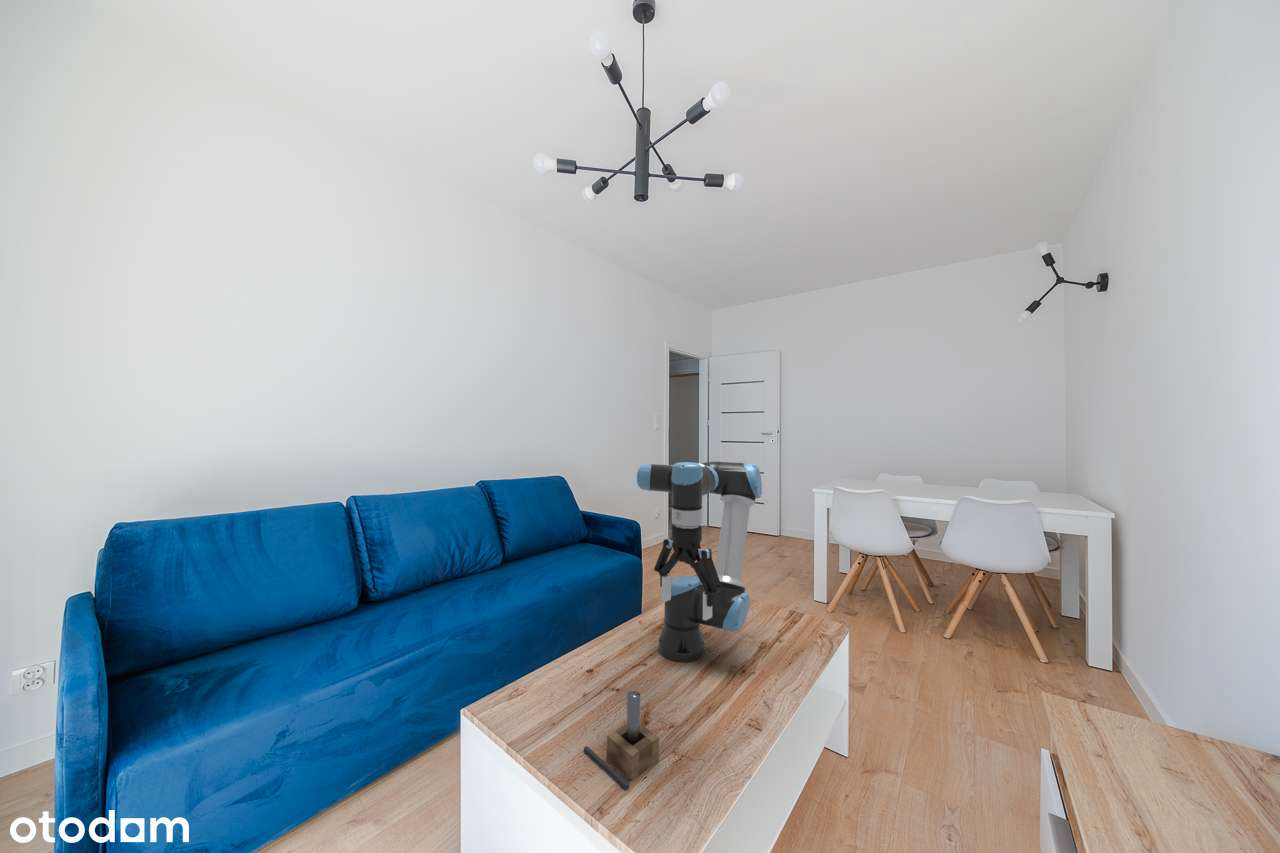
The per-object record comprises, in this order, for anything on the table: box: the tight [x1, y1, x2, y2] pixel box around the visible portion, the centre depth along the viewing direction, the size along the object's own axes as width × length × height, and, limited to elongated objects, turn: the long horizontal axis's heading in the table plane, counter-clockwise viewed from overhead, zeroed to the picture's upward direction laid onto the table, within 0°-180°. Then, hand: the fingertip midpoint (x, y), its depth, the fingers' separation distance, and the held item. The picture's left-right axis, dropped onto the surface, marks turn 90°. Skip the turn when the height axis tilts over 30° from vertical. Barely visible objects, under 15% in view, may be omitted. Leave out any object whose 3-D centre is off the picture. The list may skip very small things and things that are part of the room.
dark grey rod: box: [583, 745, 630, 791], centre depth 91 cm, size 14×1×1 cm, turn 44°
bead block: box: [606, 722, 660, 781], centre depth 94 cm, size 8×8×5 cm
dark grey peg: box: [626, 690, 641, 746], centre depth 94 cm, size 3×3×14 cm
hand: (685, 609), depth 108 cm, fingers open, 13 cm apart
